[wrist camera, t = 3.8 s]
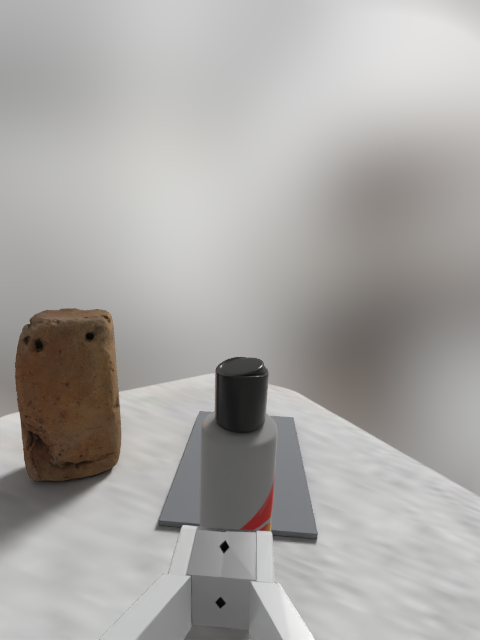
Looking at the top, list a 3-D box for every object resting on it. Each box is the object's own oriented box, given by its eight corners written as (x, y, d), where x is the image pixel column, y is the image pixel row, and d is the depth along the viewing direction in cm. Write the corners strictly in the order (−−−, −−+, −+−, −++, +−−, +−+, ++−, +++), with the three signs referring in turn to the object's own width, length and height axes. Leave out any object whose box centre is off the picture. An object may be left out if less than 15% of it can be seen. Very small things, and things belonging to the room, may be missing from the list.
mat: (316, 538, 30) (317, 533, 30) (159, 525, 31) (158, 520, 31) (293, 420, 52) (293, 417, 52) (199, 414, 53) (199, 411, 53)
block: (121, 439, 45) (114, 305, 41) (123, 474, 38) (115, 317, 34) (34, 455, 41) (16, 308, 37) (19, 497, 34) (-5, 322, 30)
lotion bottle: (270, 623, 23) (289, 379, 19) (195, 623, 23) (197, 376, 19) (262, 552, 29) (276, 350, 25) (202, 551, 29) (205, 348, 24)
